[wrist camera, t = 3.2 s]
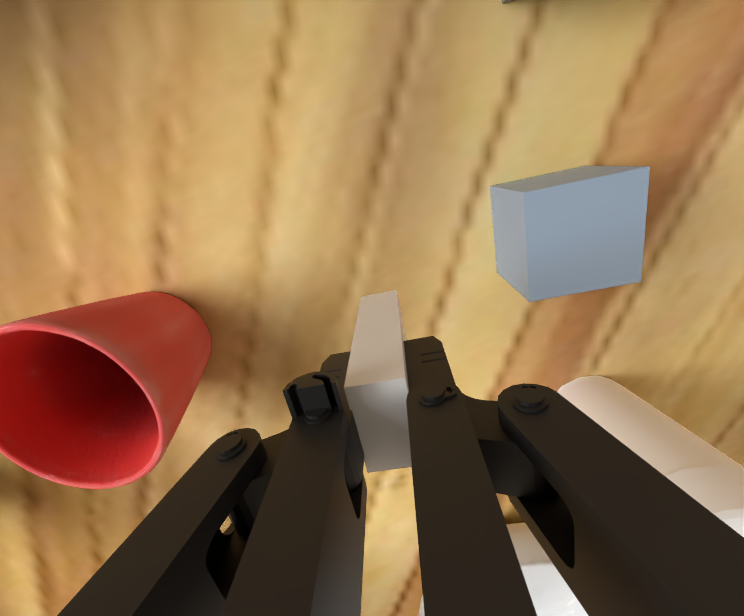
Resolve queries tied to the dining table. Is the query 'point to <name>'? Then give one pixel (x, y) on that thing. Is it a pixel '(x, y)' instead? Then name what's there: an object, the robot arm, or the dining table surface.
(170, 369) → the flower pot
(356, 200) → the dining table surface
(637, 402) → the foam cup
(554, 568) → the serving bowl
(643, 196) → the slate-blue block
